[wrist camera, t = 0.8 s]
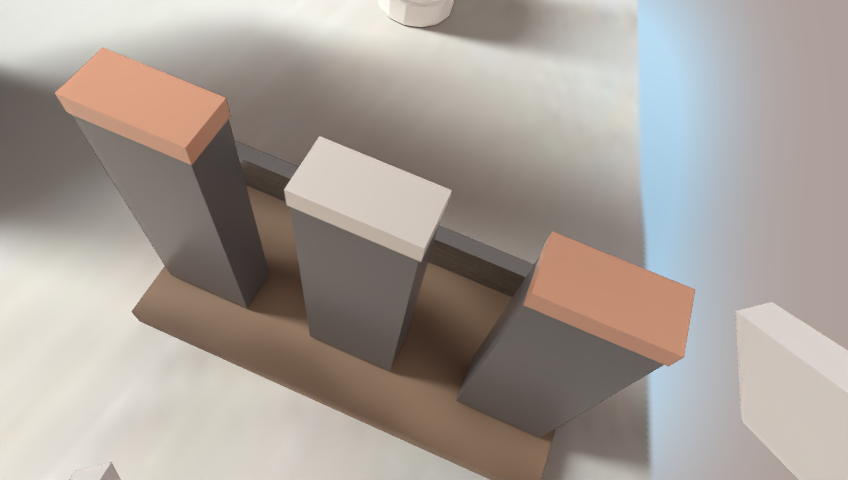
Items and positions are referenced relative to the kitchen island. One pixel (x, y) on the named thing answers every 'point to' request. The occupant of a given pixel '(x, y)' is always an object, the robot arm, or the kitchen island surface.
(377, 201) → the key middle
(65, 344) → the kitchen island surface
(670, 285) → the key
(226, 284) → the key
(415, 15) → the white cup
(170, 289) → the key console
